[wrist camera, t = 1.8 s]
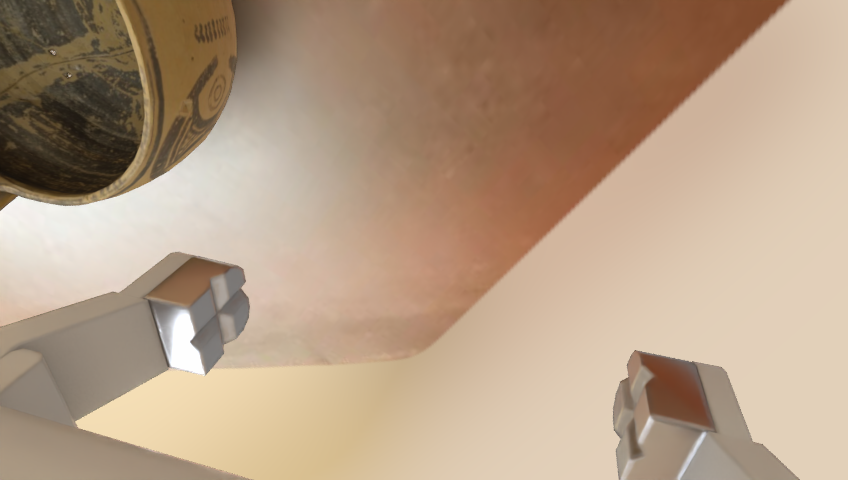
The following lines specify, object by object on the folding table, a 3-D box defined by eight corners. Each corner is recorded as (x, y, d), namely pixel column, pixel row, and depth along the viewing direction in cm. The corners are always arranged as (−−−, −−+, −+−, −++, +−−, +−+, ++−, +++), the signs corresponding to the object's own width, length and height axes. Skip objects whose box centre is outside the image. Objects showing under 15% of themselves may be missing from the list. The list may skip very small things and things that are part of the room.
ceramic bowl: (28, -362, 21) (-737, -793, 9) (361, -123, 23) (112, -201, 10) (12, 78, 34) (-316, 160, 21) (228, 214, 35) (42, 365, 23)
